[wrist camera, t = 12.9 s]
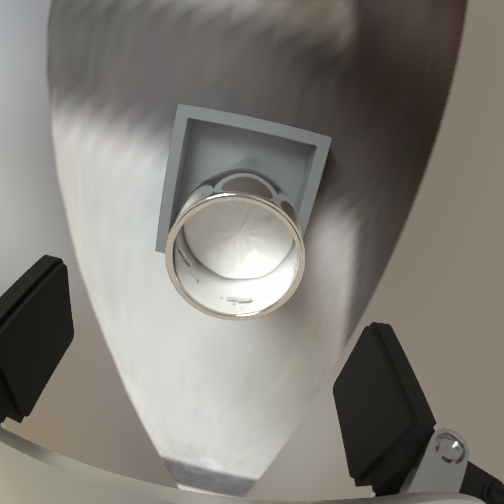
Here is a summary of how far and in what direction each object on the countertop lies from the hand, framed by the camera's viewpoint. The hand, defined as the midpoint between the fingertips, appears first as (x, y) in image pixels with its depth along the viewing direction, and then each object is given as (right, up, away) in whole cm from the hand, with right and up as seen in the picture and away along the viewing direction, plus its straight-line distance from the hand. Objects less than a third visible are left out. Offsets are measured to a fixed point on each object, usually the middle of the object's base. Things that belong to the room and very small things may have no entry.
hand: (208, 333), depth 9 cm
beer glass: (+1, +8, +19) cm, 21 cm away
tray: (0, +8, +20) cm, 22 cm away
